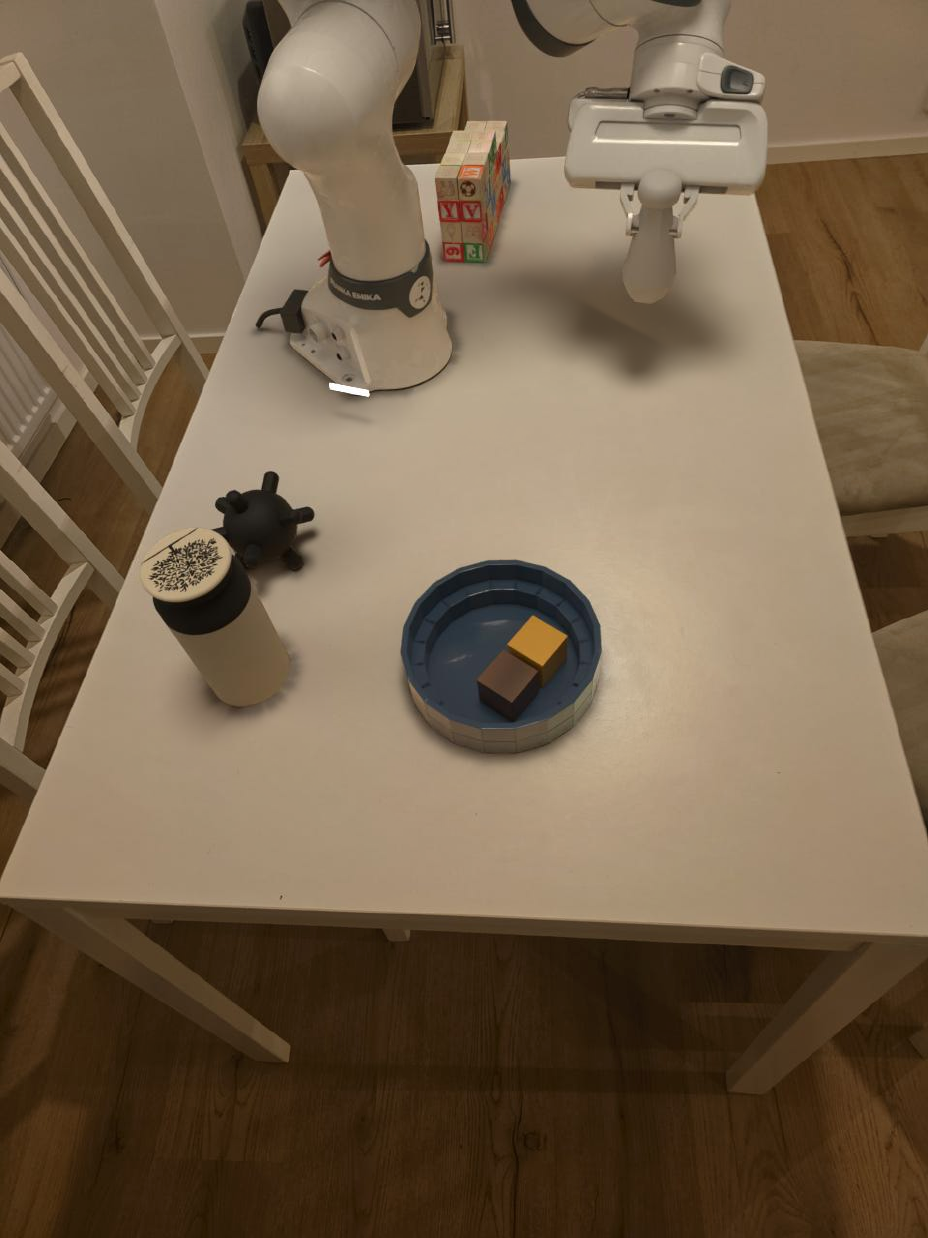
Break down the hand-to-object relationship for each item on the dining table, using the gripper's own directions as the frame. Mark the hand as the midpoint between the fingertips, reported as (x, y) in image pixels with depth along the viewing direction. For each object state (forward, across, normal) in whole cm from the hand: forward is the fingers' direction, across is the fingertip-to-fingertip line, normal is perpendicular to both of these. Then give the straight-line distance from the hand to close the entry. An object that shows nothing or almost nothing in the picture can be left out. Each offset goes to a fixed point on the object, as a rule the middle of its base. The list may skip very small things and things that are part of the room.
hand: (653, 235), depth 85 cm
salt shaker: (+5, 0, +6) cm, 7 cm away
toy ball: (+37, -37, -10) cm, 53 cm away
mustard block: (+43, -5, -18) cm, 47 cm away
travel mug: (+48, -33, -21) cm, 62 cm away
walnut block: (+46, -7, -21) cm, 51 cm away
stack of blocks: (-9, -26, +36) cm, 45 cm away
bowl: (+44, -8, -18) cm, 48 cm away
